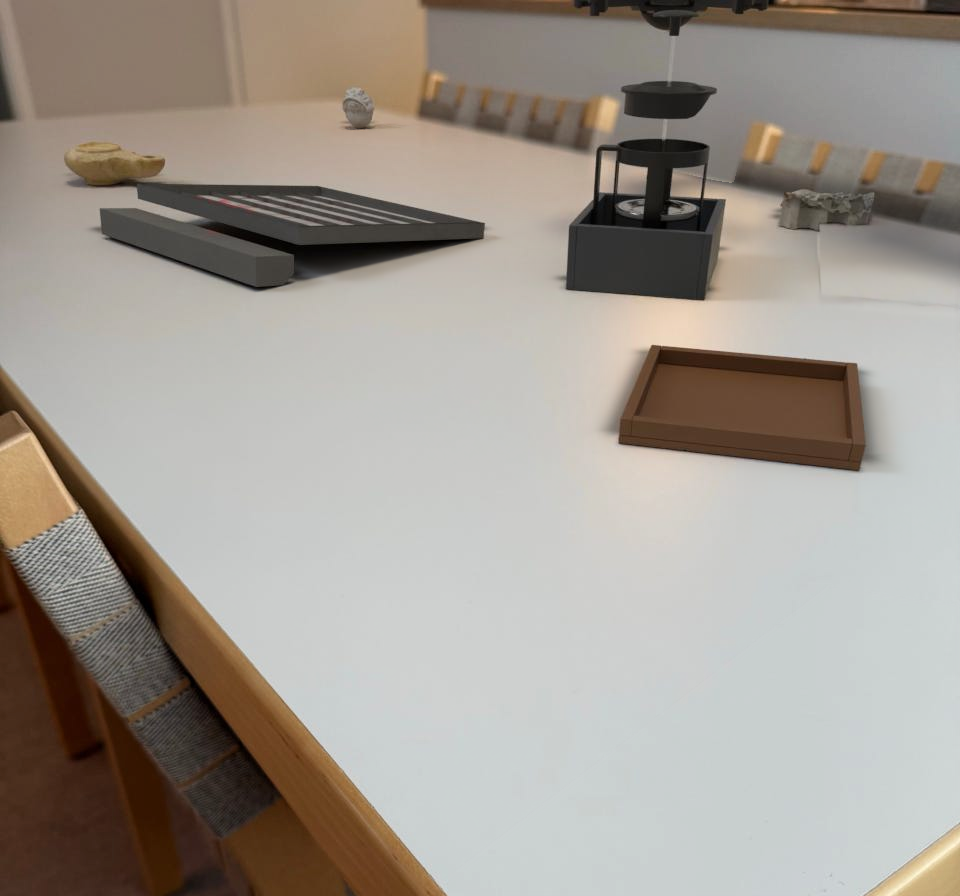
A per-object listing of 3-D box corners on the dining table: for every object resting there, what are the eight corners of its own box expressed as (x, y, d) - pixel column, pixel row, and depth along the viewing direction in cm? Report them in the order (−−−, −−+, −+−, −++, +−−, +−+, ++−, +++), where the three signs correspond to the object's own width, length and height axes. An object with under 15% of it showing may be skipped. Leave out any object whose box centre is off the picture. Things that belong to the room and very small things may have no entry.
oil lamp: (169, 187, 137) (162, 149, 134) (63, 192, 135) (54, 152, 132) (170, 174, 146) (164, 137, 143) (71, 178, 143) (63, 141, 140)
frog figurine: (337, 130, 184) (334, 88, 180) (353, 125, 189) (350, 84, 185) (366, 131, 182) (364, 89, 178) (381, 126, 188) (379, 85, 184)
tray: (852, 385, 74) (857, 362, 73) (859, 470, 61) (866, 444, 60) (649, 366, 77) (651, 344, 76) (618, 443, 65) (620, 418, 64)
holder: (717, 258, 105) (726, 199, 102) (704, 300, 92) (712, 234, 89) (595, 249, 108) (599, 192, 105) (565, 289, 95) (568, 225, 92)
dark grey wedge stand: (318, 241, 133) (103, 248, 113) (317, 185, 130) (96, 183, 110) (482, 272, 114) (259, 287, 94) (485, 208, 111) (255, 209, 91)
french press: (705, 265, 103) (739, 8, 89) (699, 288, 95) (734, 12, 82) (596, 258, 105) (613, 7, 92) (582, 280, 98) (598, 11, 84)
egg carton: (773, 228, 117) (779, 192, 115) (784, 216, 123) (790, 181, 120) (864, 236, 113) (872, 198, 111) (871, 223, 119) (879, 187, 116)
